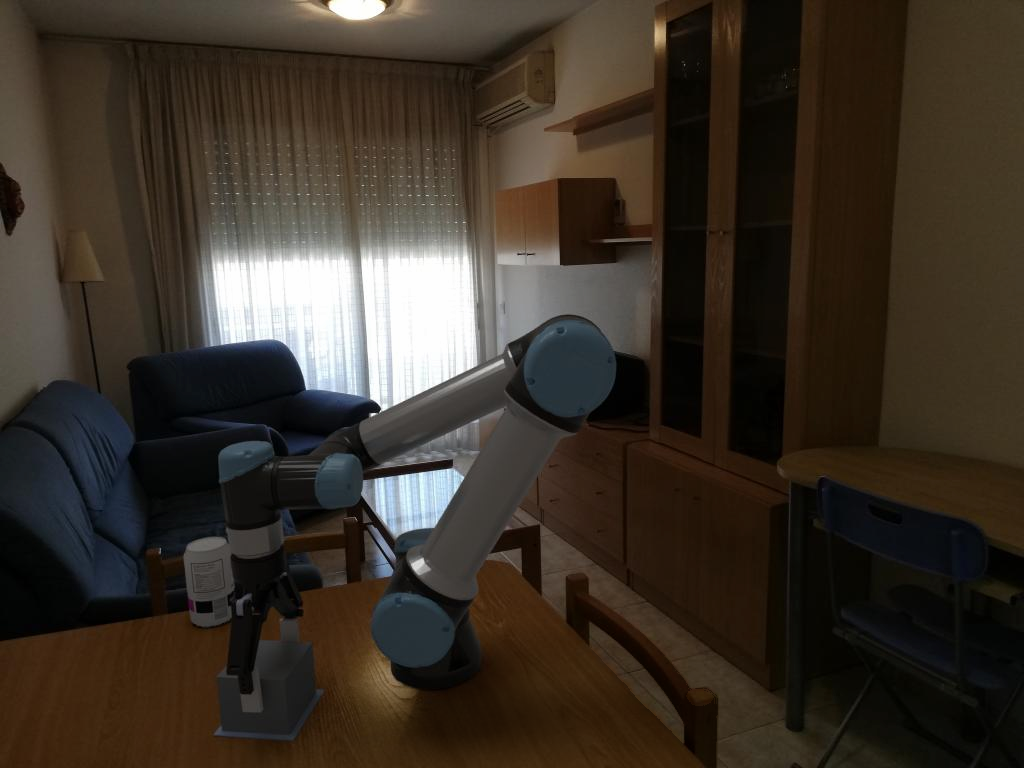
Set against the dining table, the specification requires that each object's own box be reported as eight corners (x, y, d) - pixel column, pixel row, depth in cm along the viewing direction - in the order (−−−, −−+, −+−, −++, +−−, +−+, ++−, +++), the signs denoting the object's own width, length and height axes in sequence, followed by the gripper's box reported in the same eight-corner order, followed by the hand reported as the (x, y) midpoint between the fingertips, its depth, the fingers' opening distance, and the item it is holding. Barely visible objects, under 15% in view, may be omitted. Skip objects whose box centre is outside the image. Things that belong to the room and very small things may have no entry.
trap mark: (324, 690, 116) (324, 689, 116) (293, 740, 104) (293, 739, 104) (252, 687, 117) (252, 686, 117) (213, 736, 105) (213, 734, 105)
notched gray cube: (316, 694, 115) (312, 642, 113) (289, 736, 105) (284, 680, 103) (254, 690, 116) (249, 639, 115) (222, 732, 106) (216, 677, 105)
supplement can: (181, 624, 138) (172, 548, 135) (215, 604, 145) (208, 533, 142) (212, 632, 134) (204, 555, 132) (246, 612, 142) (239, 539, 139)
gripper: (270, 517, 118) (285, 638, 122) (185, 588, 94) (206, 736, 98) (315, 517, 117) (328, 639, 121) (240, 588, 93) (260, 737, 97)
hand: (274, 682), depth 110 cm, fingers open, 13 cm apart
